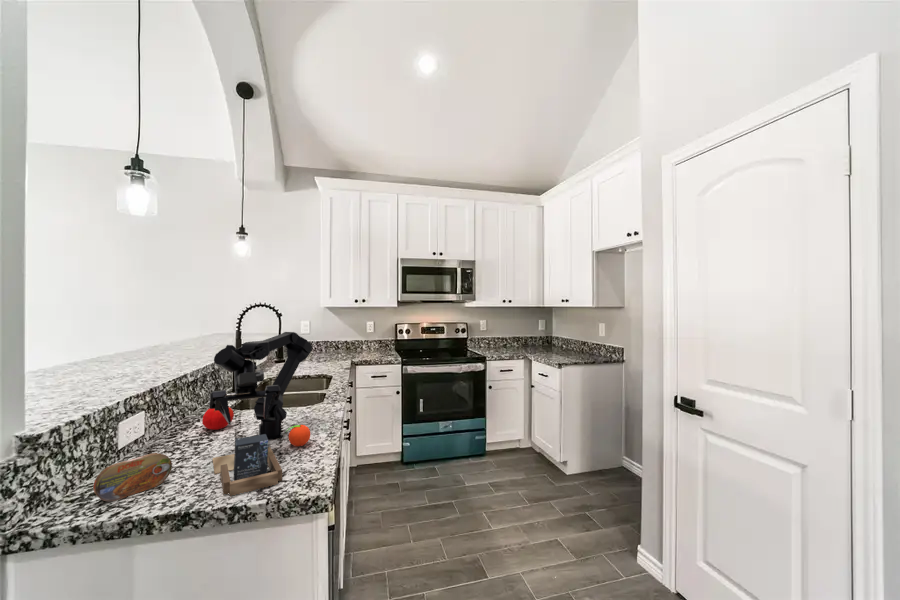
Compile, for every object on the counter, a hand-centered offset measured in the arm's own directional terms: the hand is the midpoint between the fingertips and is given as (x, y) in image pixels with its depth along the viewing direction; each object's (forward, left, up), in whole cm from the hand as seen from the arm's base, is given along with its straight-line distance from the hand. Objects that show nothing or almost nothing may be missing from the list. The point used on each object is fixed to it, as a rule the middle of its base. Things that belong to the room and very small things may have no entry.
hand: (247, 421), depth 106 cm
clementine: (-16, -8, -13) cm, 22 cm away
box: (0, +8, -13) cm, 16 cm away
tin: (+25, +1, -14) cm, 28 cm away
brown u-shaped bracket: (0, +9, -13) cm, 16 cm away
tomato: (+5, -42, -13) cm, 44 cm away
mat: (0, -5, -13) cm, 14 cm away
